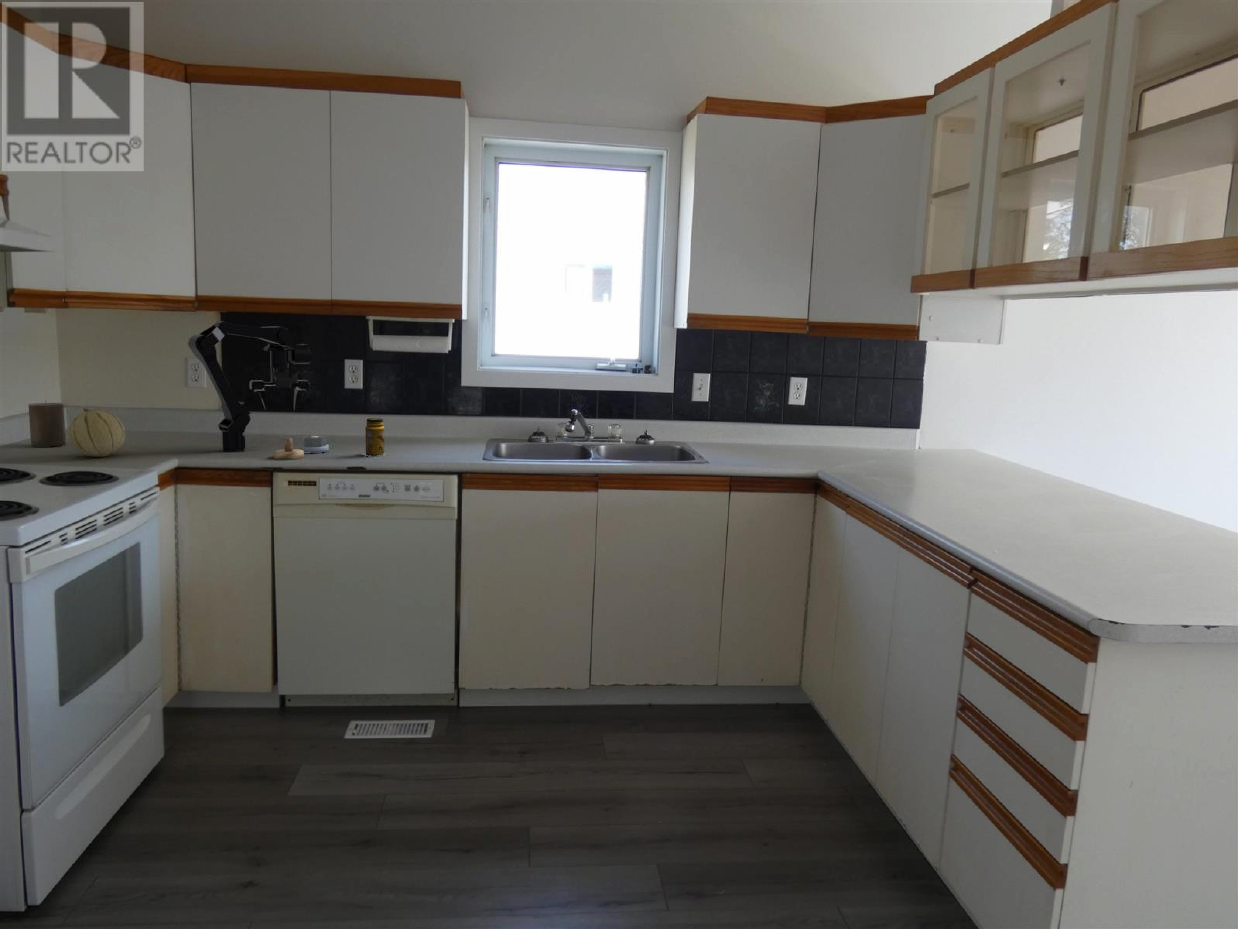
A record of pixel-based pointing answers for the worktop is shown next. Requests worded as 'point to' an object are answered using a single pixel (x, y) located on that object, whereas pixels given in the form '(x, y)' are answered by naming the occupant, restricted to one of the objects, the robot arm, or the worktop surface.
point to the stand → (288, 451)
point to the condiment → (374, 437)
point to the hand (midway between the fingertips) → (280, 410)
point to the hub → (315, 448)
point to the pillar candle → (47, 424)
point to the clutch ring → (314, 441)
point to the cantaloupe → (97, 433)
